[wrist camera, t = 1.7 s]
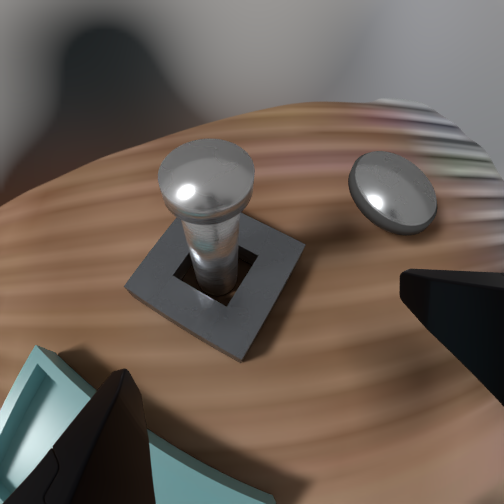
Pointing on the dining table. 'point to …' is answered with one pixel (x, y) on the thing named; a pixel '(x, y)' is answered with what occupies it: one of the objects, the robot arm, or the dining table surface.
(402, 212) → the silver round knob
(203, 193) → the pin
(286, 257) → the pin collar
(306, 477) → the dining table surface
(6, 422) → the tray
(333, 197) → the dining table surface
